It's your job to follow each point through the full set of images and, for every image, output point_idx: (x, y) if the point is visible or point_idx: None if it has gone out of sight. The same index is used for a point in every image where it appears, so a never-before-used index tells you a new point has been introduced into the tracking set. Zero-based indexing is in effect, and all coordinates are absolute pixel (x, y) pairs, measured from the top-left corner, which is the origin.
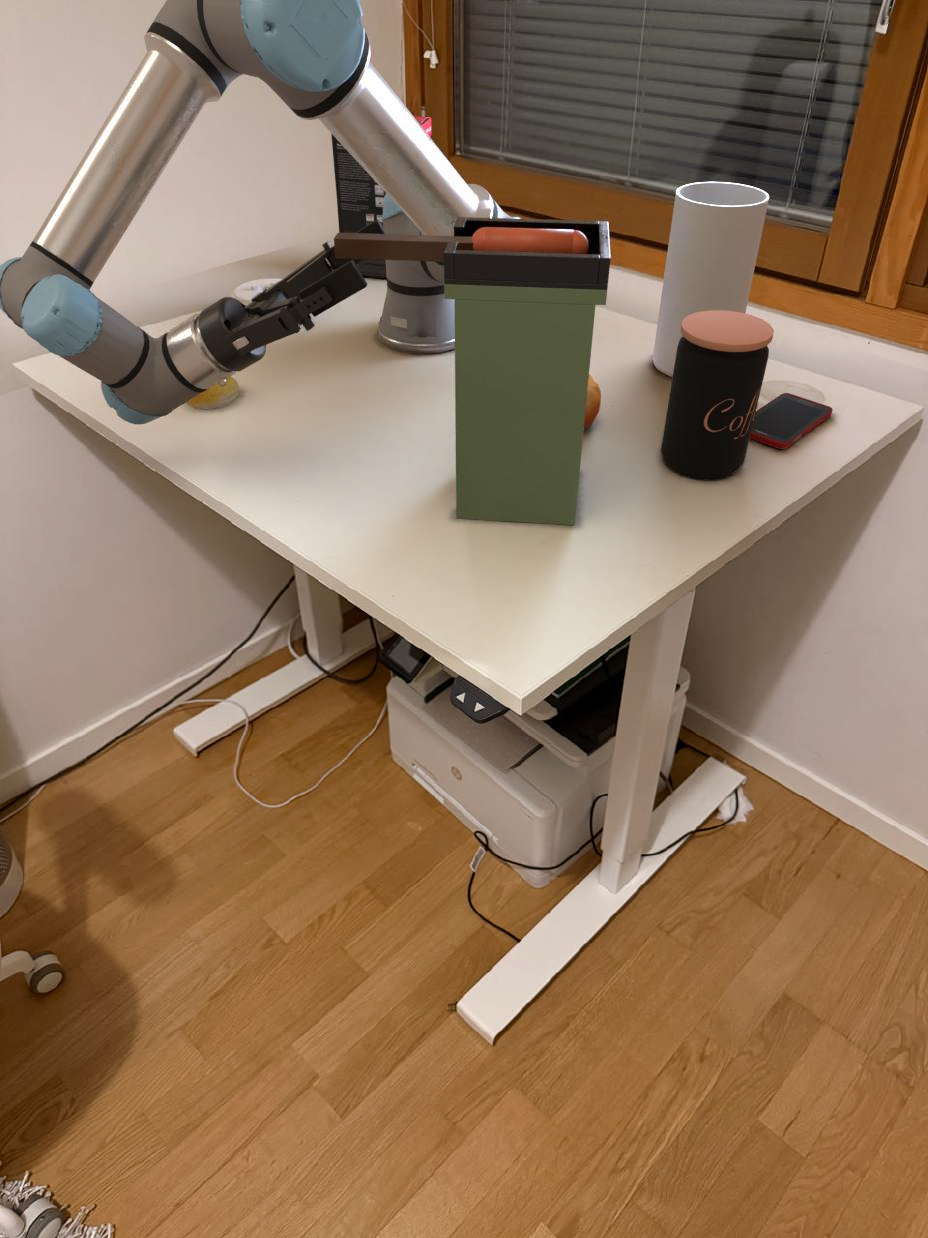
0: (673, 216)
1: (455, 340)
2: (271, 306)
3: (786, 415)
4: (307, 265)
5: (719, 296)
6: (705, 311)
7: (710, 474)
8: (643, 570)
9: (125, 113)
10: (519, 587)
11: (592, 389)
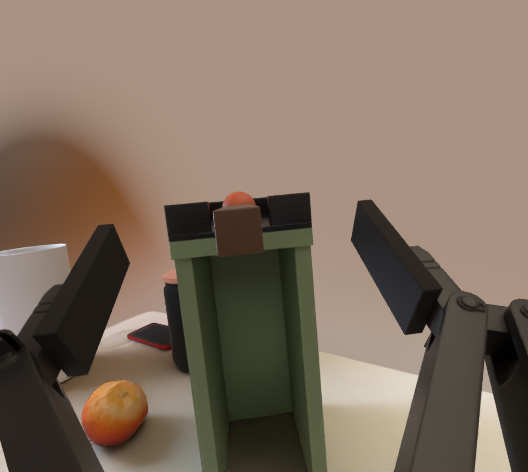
0: (5, 273)
1: (313, 288)
2: (453, 440)
3: (156, 333)
4: (16, 439)
5: None
6: (164, 276)
7: None
8: (337, 367)
9: None
10: (403, 421)
11: (130, 382)
